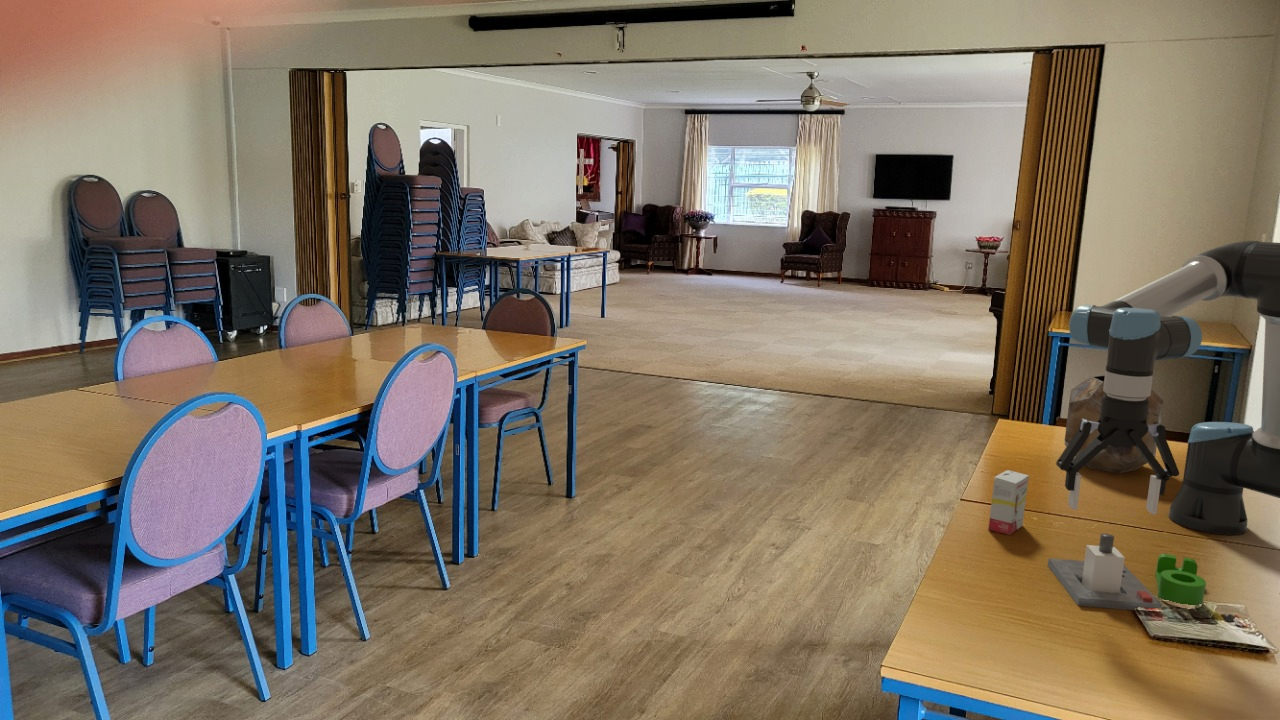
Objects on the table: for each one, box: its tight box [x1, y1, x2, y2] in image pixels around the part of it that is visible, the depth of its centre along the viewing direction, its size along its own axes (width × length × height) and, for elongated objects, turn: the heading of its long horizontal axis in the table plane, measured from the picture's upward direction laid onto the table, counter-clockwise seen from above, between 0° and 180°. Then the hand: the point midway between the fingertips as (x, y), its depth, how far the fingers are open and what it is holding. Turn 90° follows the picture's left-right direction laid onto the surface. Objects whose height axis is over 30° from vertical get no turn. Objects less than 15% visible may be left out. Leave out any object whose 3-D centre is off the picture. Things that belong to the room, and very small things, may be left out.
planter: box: [1064, 374, 1164, 474], centre depth 252 cm, size 22×24×24 cm
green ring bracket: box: [1155, 553, 1207, 605], centre depth 174 cm, size 15×7×5 cm, turn 155°
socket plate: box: [1047, 557, 1163, 611], centre depth 175 cm, size 14×18×2 cm
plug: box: [1081, 533, 1126, 593], centre depth 173 cm, size 5×5×11 cm
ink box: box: [987, 469, 1030, 536], centre depth 204 cm, size 9×5×12 cm, turn 139°
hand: (1111, 509), depth 171 cm, fingers open, 13 cm apart
